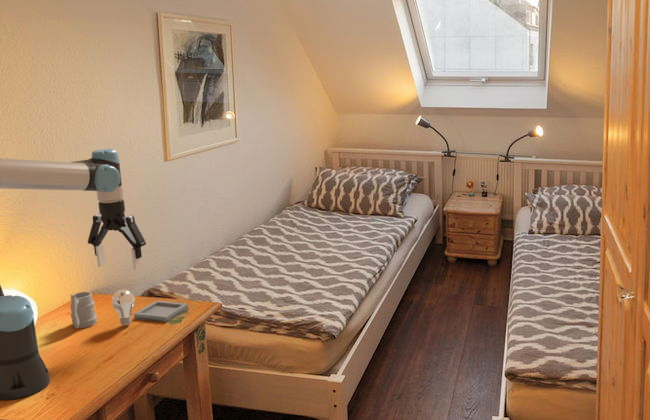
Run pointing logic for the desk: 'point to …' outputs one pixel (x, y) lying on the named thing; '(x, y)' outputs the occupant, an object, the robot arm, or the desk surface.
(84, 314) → the mug
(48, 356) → the desk surface
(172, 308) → the dish
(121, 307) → the light bulb
